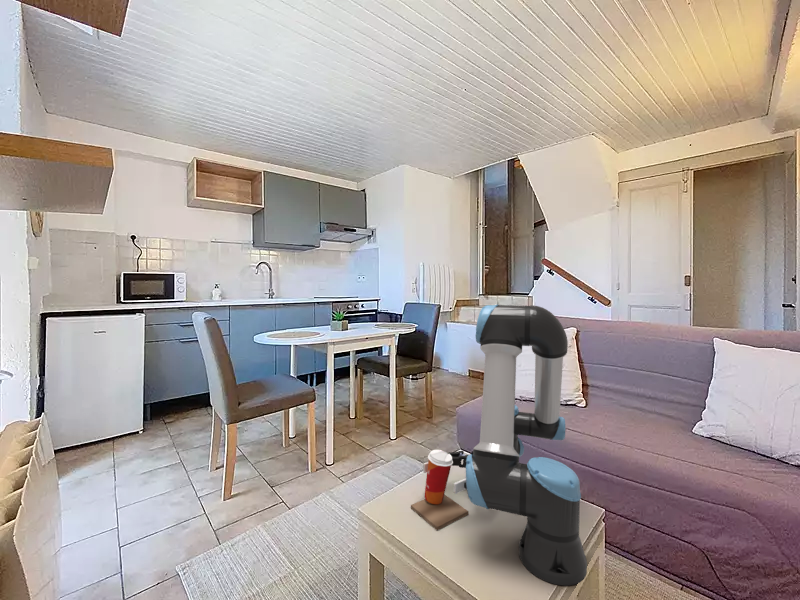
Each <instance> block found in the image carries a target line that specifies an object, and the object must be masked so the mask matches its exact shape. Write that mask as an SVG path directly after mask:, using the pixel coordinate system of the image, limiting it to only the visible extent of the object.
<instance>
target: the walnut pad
mask: <svg viewBox="0 0 800 600" xmlns="http://www.w3.org/2000/svg"><path fill="white" fill-rule="evenodd" d="M410 509H411V510H412V511H413V512H414V513H416V514H417V515H418V516H419V517H421V519H423V521H425V522H427V524H429V525H430V526H431V527H432V528H433V529H434V530H436V531H439V530H441V529H443V528H445V527H447V526H448V525H449V526H450V525H451V524H453V523H455V522H458V521H460V519H463V518H465V517H467V516H469V510H467V509H466V508H465V507H464V506H462V505H460V504H459V503H457V502H456V501H454V500H453V499H452V498H450V497H449V496H448V495H446V494H445V493H444V497H443V500H442V503H440V504H431V503H429V502H428V501H426V499H425V498H423V499H420V500H419V501H417V502H414V503H413V504H410Z"/></svg>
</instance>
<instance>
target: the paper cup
mask: <svg viewBox="0 0 800 600" xmlns="http://www.w3.org/2000/svg"><path fill="white" fill-rule="evenodd" d="M447 453H448V452H447V451H444V450H441V449H433V450H431V451H430V452H429V454H428V455H427V459H428V461H427V462H428V469H427V472H426V481H425V486H424V487H425V488H424V489H425V490H424V499H426V501H428V502H429V503H431V504H440V503H442V500H443V497H444V494H445V492H446V488H447V485H448V480H449V476H450V472H451V467H452V466H451V465H452V464H453V460H452V456H451V455H450V454H447Z"/></svg>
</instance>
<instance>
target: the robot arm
mask: <svg viewBox="0 0 800 600" xmlns="http://www.w3.org/2000/svg"><path fill="white" fill-rule="evenodd" d="M475 342H476V343H477V344H480V350H481V351H482V352H483V353H484V355H485V357H484V358H485V359H484V368H483V369H484V371H483V372H484V374H483V386H482V390H483V391H482V400H481V401H482V402H481V403H482V404H481V414H480V415H481V417H480V418H481V420H480V431H479V434H480V435H479V443H477V444H476V445H475V446H474V447H473V450H472V451H471V453H470V454H465V453H464V450H459V451H451V452H447V454H450V455H451V456H452V460H453V464H452V465H451V467H452V466H453V467H458V468H461V469H462V468H463V469H465V478H463V479H461V480H458V481H456V482H453V493H454V494H458V493H460V492H463V491H465V490H466V492H467V496H468V499H469V501H470V503H472V504H473V505H475V506H477V507H482V508H485V509H486V510H495V511H499V512H503V513H508V514H514V515H518V516H523V517H527V518H526V525H525V527H524V529H523V532H522V534H521V536H520V537H521V538H520V539H519V543H518V544H519V546H518V553H519V557H520V562H521V563H522V564H523V566H524V567H525V568H526V569H527V570H528V571H529V572H530V573H531V574H533V576H535V577H537V578H538V579H541V580H542V581H544V582H547V583H550V584H553V585H559V586H574V585H577V584H579V583H581V582H582V581H584V579H585V578H586V576H587V573H588V572H587V570H588V568H587V567H588V561H587V560H588V559H587V557H586V554H585V550H584V547H583V543H582V541H581V537H580V502H581V499H582V493H581V489H580V488H581V487H580V478H579V477H578V475H577V474H576V472H575V471H574V470H573V469H572V468H570V467H569V466H567V465H566V464H564V463H562V462H561V461H558V460H555V459H552V458H550V457H545V456H538V457H536V456H534V457H531V458H529V460H528V462H527V463H522V462H520V457H522V456H523V455H524V452H525V446H524V444H523V441H522V440H521V438H520V437H519V436H524V437H531V438H537V439H545V440H549V441H564V440H565V438H566V419H565V417H563V416H560V414H561V412H560V411H561V409H560V408H561V396H562V383H563V382H562V381H563V363H564V357H565V356H566V355H567V354H568V349H569V343H568V342H569V341H568V336H567V332H566V331H565V328H564V326H563V324H562V323H561V321H560V320H559V318H557V317H556V315H554V314H553V313H552V312H551V311H550V310H548V309H547V308H544V307H543V306H542V307H541V306H539V305H533V304H532V305H518V304H517V305H513V304H511V305H510V304H509V305H508V304H498V303H497V304H492V305H491V304H490V305H489V304H488V305H484V306H483V307H481V309H480V311H479V314H478V316H477V322H476V327H475ZM523 347H531V350H532V353H533V354H534V358H535V359H534V360H535V361H534V362H535V363H534V367H535V368H534V371H535V372H534V412H533V413H532V412H525V411H520V410H519V406H518V405H516V404H515V403H516V380H517V378H516V376H517V374H516V373H517V358H518V356H519V355H521V353H523ZM422 467H423V468H422V473H424V474H425V473H426V474H427V469H428V461H427V462H424V463H423V464H422Z"/></svg>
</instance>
